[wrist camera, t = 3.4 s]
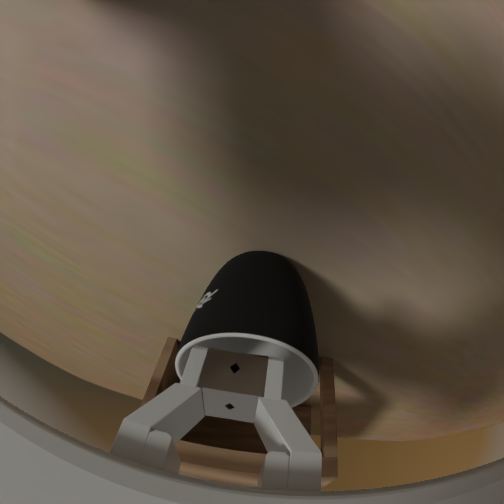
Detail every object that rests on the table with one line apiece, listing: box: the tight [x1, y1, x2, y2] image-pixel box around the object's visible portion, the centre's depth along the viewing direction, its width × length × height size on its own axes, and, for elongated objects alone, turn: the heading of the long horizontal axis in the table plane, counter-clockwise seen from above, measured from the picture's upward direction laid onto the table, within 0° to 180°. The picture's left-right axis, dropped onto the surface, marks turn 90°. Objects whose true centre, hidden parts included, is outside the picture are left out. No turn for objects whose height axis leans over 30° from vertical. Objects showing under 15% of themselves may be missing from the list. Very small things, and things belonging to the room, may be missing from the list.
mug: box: [175, 251, 319, 408], centre depth 22 cm, size 12×9×10 cm
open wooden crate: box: [141, 338, 338, 489], centre depth 28 cm, size 12×18×14 cm, turn 86°
